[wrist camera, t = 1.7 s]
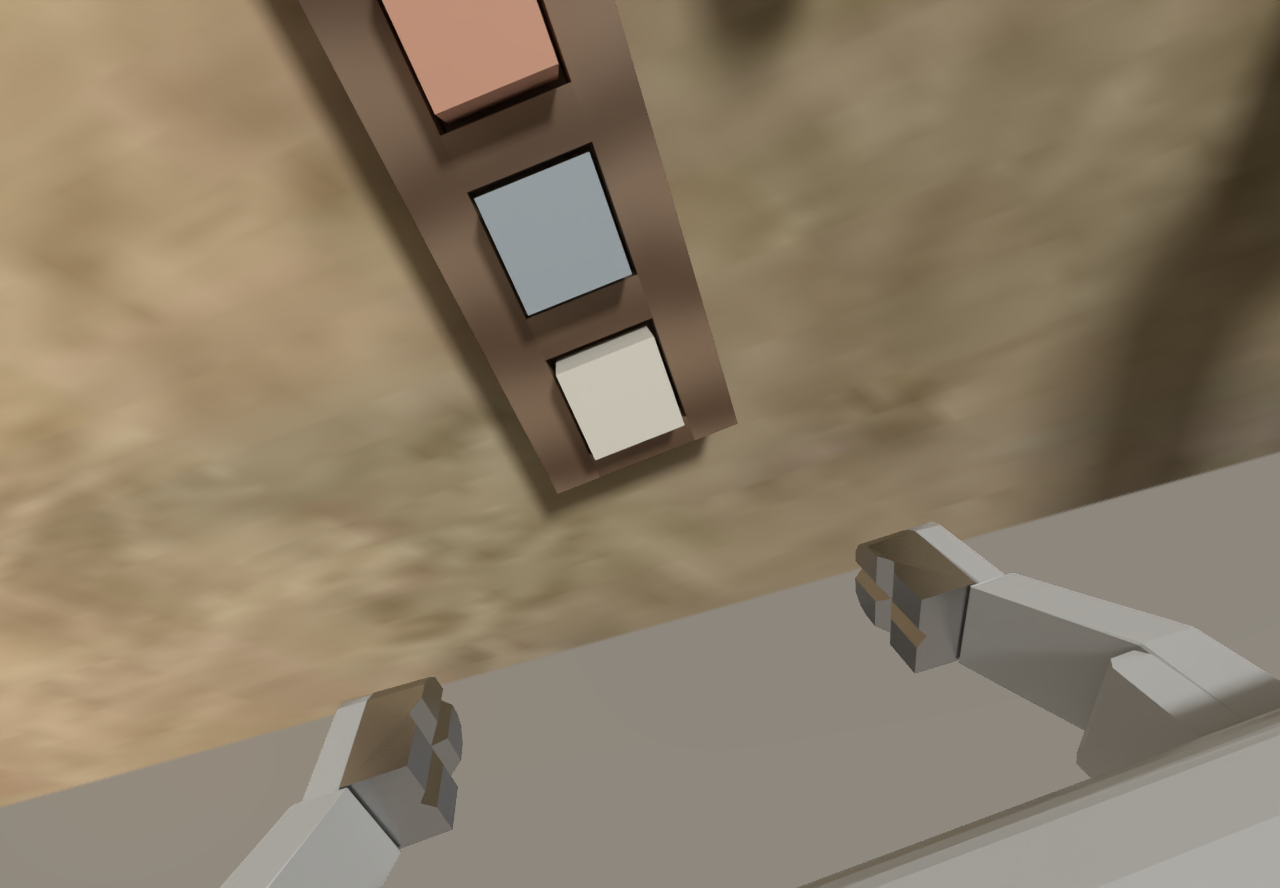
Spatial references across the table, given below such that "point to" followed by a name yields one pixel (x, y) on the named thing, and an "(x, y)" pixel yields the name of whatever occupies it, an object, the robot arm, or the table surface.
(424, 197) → the key frame
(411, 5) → the terracotta key
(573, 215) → the slate key
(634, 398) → the cream key
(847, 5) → the table surface
